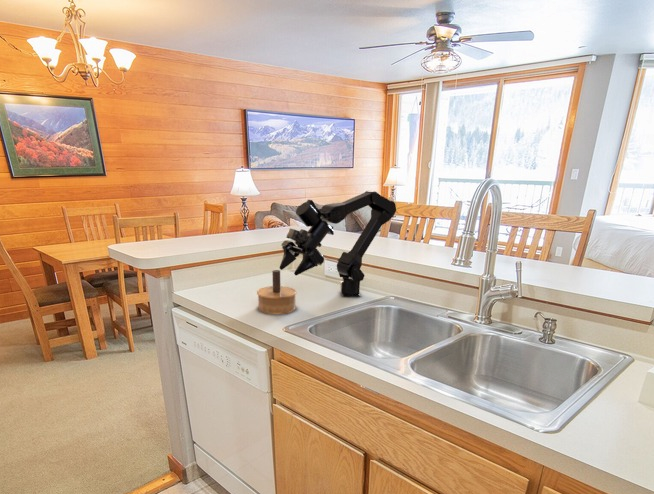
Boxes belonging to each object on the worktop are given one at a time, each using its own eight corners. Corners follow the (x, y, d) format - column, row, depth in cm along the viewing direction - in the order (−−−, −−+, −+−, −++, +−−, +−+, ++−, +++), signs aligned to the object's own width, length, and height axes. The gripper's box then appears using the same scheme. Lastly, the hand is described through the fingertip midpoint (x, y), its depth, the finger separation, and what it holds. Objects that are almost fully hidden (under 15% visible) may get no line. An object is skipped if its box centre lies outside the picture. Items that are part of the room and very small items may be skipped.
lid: (283, 287, 157) (282, 264, 153) (304, 296, 147) (304, 272, 144) (249, 292, 149) (248, 269, 146) (269, 302, 140) (268, 277, 136)
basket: (282, 300, 158) (282, 286, 156) (302, 310, 149) (302, 294, 147) (252, 306, 151) (251, 291, 149) (270, 316, 142) (270, 300, 140)
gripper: (285, 216, 150) (258, 251, 149) (317, 222, 137) (288, 261, 135) (304, 237, 158) (278, 271, 156) (336, 246, 144) (308, 283, 143)
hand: (287, 271), depth 147 cm, fingers open, 9 cm apart
